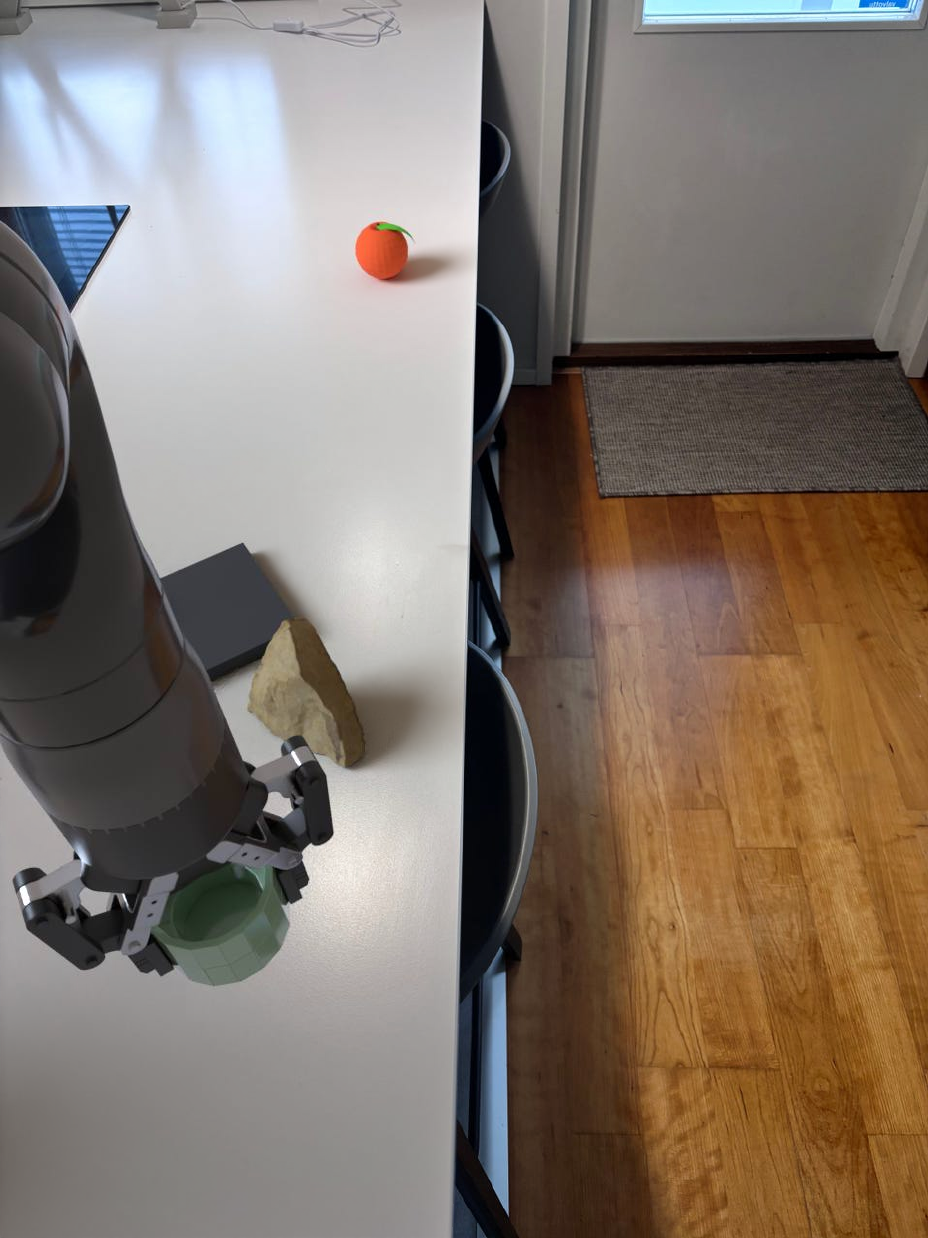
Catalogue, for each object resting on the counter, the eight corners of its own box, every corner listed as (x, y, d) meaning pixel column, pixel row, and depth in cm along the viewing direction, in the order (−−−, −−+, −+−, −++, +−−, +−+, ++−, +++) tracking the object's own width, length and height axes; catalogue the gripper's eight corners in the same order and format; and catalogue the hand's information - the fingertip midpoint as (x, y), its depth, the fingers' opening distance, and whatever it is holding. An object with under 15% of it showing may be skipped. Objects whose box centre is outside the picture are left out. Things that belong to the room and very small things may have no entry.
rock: (402, 736, 74) (363, 637, 80) (328, 716, 68) (290, 609, 73) (308, 807, 78) (276, 707, 83) (228, 794, 71) (200, 687, 77)
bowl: (194, 1014, 47) (165, 975, 43) (152, 909, 51) (122, 866, 47) (311, 946, 49) (293, 903, 45) (263, 851, 52) (242, 804, 49)
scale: (127, 722, 80) (114, 699, 77) (82, 626, 87) (69, 602, 85) (303, 637, 85) (296, 613, 83) (246, 553, 93) (239, 529, 90)
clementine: (421, 261, 129) (416, 210, 123) (415, 288, 124) (409, 236, 119) (363, 262, 129) (356, 210, 124) (354, 288, 125) (346, 236, 120)
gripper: (-45, 912, 32) (115, 1065, 45) (334, 722, 37) (384, 909, 49) (-84, 755, 37) (71, 934, 49) (259, 603, 41) (322, 802, 54)
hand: (227, 921), depth 49 cm, fingers closed on bowl, 6 cm apart
